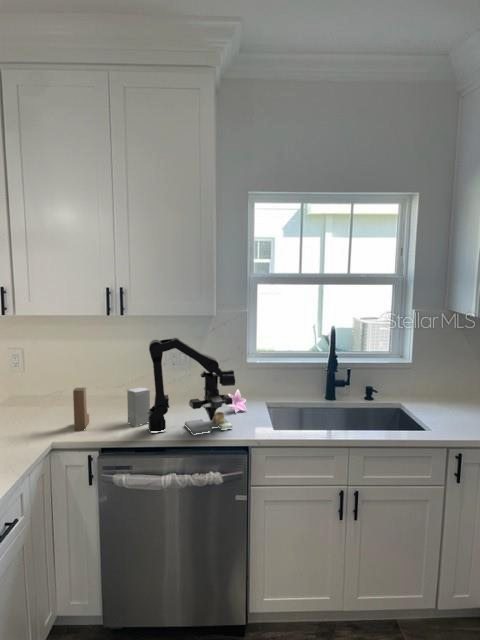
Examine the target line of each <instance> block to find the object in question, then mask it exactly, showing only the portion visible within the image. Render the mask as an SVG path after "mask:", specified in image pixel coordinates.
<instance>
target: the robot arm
mask: <svg viewBox="0 0 480 640" xmlns="http://www.w3.org/2000/svg"><path fill="white" fill-rule="evenodd" d="M174 349H176V350H177V351H180V352H181V353H183V354H184V355H186V356H187V357H189V358H191V359H192V360H194V361H196V362H197V363H198V364H199V365H200V366H202V368H204V369H205V370H206V371H207V372H206V371H205V370H203V372H201V373H200V374H199V375H200V377H201V378H204V387H203V390H204V396H203V400H202V399H199V398H192V399H190V400H189V401H188V405H189V407H191V409H193V410H199V409H201V408H204V410H205V411H206V413H207V416H208V419H209V421H212V419H213V417H214V414H215V412H217V410H218V409H219V408H222V407H223V404H225V405H226V406H227V405H230V404H233V400H232V398H231V397H230V396H229V395H228V394H220V391H219V390H220V389H219V385H221V387H234V386H235V384H236V377H235V371H234V370H233V369H231V370H222V369H221V367H219V366H220V365H219V362H218V361H217V359H216V358H215V357H212V356H211V355H207V354H204V353H202V352H200V351H198V350H196V349H195V348H193V347H191V346H190V345H188V344H187V343H185V342H184V341H182V340H180V338H178V337H173V338H168V339H167V338H166V339H160V340H159V339H152V340H151V341H150V342H149V345H148V351H149V354H150V358H151V361H152V366H153V381H154V389H155V391H154V392H155V393H154V394H155V395H154V403H153V406H151V407H150V410H149V412H150V416H149V417H148V420H149V423H148V428H149V430H150V431H161V430H164V429H165V430H166V427H167V425H166V419H165V416H164V415H166V414H167V413H168V412H169V409H170V403H169V400H170V399H169V394H166V393H165V389H164V388H165V387H164V379H163V378H164V375H163V365H162V362H163V353H165V352H169V351H172V350H174ZM218 384H219V385H218ZM149 430H148V431H149Z"/></svg>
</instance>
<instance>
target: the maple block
mask: <svg viewBox="0 0 480 640" xmlns="http://www.w3.org/2000/svg"><path fill="white" fill-rule="evenodd" d="M224 418H225V413H224V412H222V411H216V412H215V414H214V417H213V422H214V423H215V424H219V423H224Z"/></svg>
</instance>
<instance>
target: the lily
mask: <svg viewBox="0 0 480 640" xmlns="http://www.w3.org/2000/svg"><path fill="white" fill-rule="evenodd" d="M227 395H228V396H230V397H231V398H232V400H233V404H230V405H226V406H227V407H230V409H231V408H232V409H233V408H234V411H235V413H236V412H237V411H241V410H242V411H243V412H245V411H244V410H247V411H248V409H247V407H246V405H245V403H246V401H247V399H246V398H243V397H242V395H241V391H240V390H239V389H237V390H236V391H235V393H234V395H233V394H231V393H227Z"/></svg>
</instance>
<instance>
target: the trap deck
mask: <svg viewBox="0 0 480 640" xmlns="http://www.w3.org/2000/svg"><path fill="white" fill-rule="evenodd" d="M185 425H186V426H187V427H188V428H189V429H190V430H191V432H192V433H193V434H196V433H202V432H208V431H211V432H212V430H211V428H212V427H218V426H219V427H220V428H221V429H225V428H232V429H233V424H232V423H230V422H229V420H227V419H226V418H225V417H224V423H219V424H215V423H214V422H213V419H212V421H210V420H208V421H207V420H206V421H204V420H203V419H195V420H188V421H186V420H185V421H184V426H185ZM191 432H190V433H191ZM192 433H191V434H192ZM193 434H192V435H193Z"/></svg>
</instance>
